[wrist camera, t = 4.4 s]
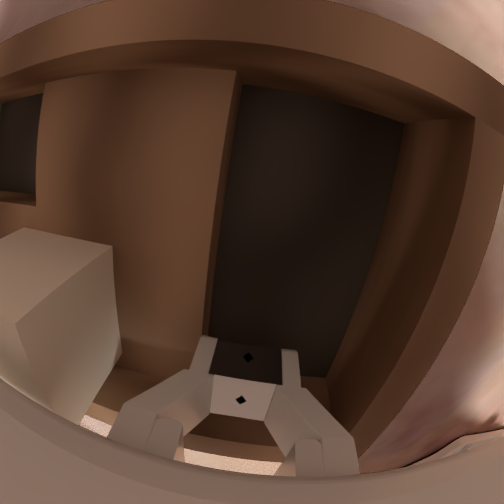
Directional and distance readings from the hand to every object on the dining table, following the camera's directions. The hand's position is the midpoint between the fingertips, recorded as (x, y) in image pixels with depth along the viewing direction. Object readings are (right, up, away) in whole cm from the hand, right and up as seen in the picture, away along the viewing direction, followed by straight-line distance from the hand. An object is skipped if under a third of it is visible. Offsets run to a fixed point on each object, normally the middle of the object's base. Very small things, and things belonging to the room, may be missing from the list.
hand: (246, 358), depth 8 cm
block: (-8, +2, +1) cm, 8 cm away
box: (-7, +5, +2) cm, 9 cm away
